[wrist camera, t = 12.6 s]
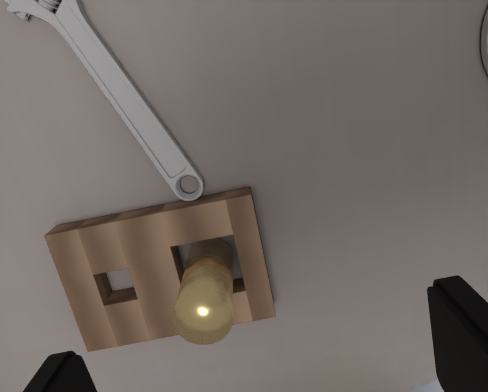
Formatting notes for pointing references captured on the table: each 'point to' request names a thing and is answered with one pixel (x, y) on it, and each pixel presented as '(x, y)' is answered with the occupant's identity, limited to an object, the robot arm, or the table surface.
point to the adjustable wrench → (115, 87)
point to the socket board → (154, 265)
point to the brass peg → (206, 293)
